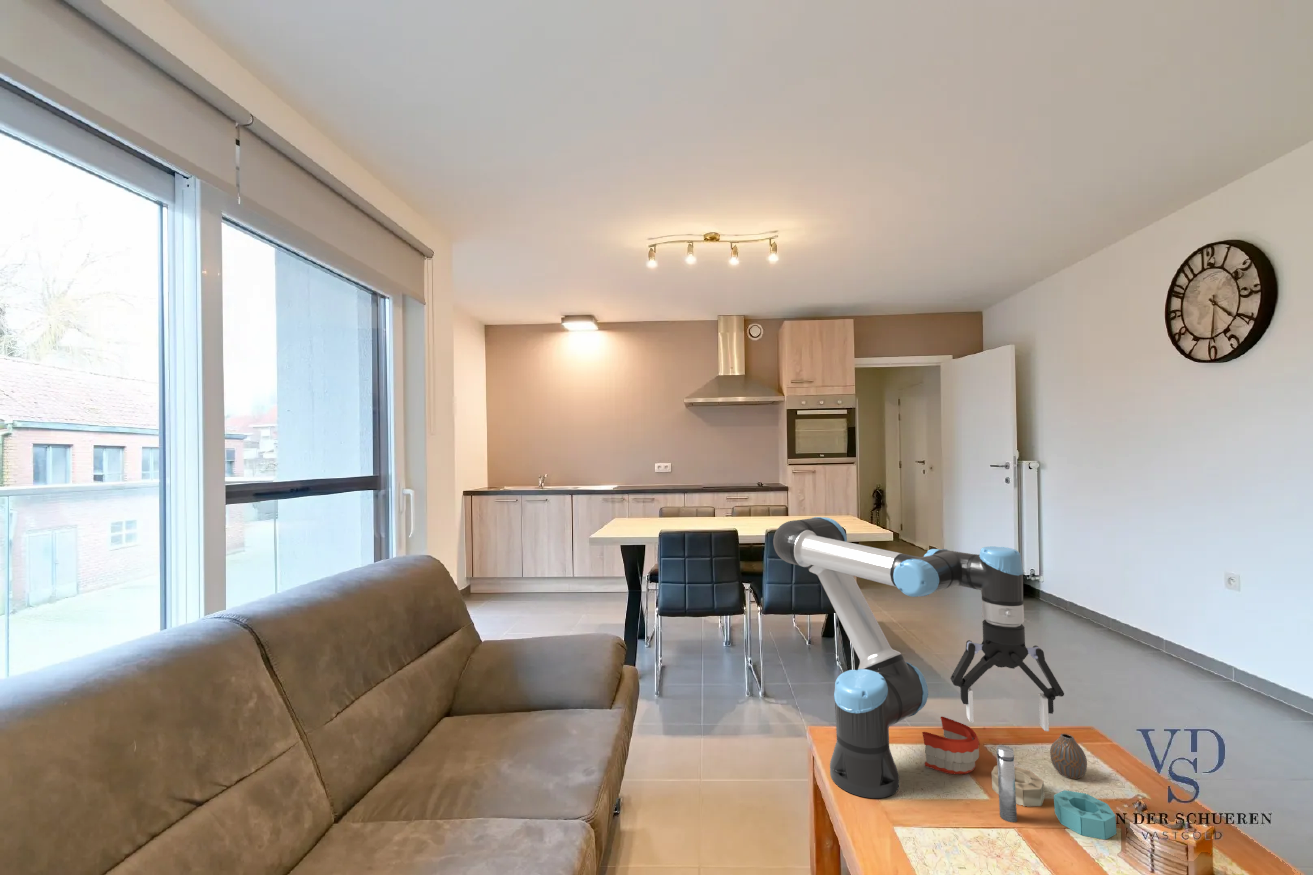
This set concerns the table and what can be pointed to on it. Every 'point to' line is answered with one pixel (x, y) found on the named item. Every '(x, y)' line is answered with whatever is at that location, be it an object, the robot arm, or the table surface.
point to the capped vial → (1006, 783)
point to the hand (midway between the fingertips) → (1006, 723)
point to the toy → (952, 748)
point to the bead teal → (1085, 814)
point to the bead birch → (1024, 787)
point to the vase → (1068, 757)
